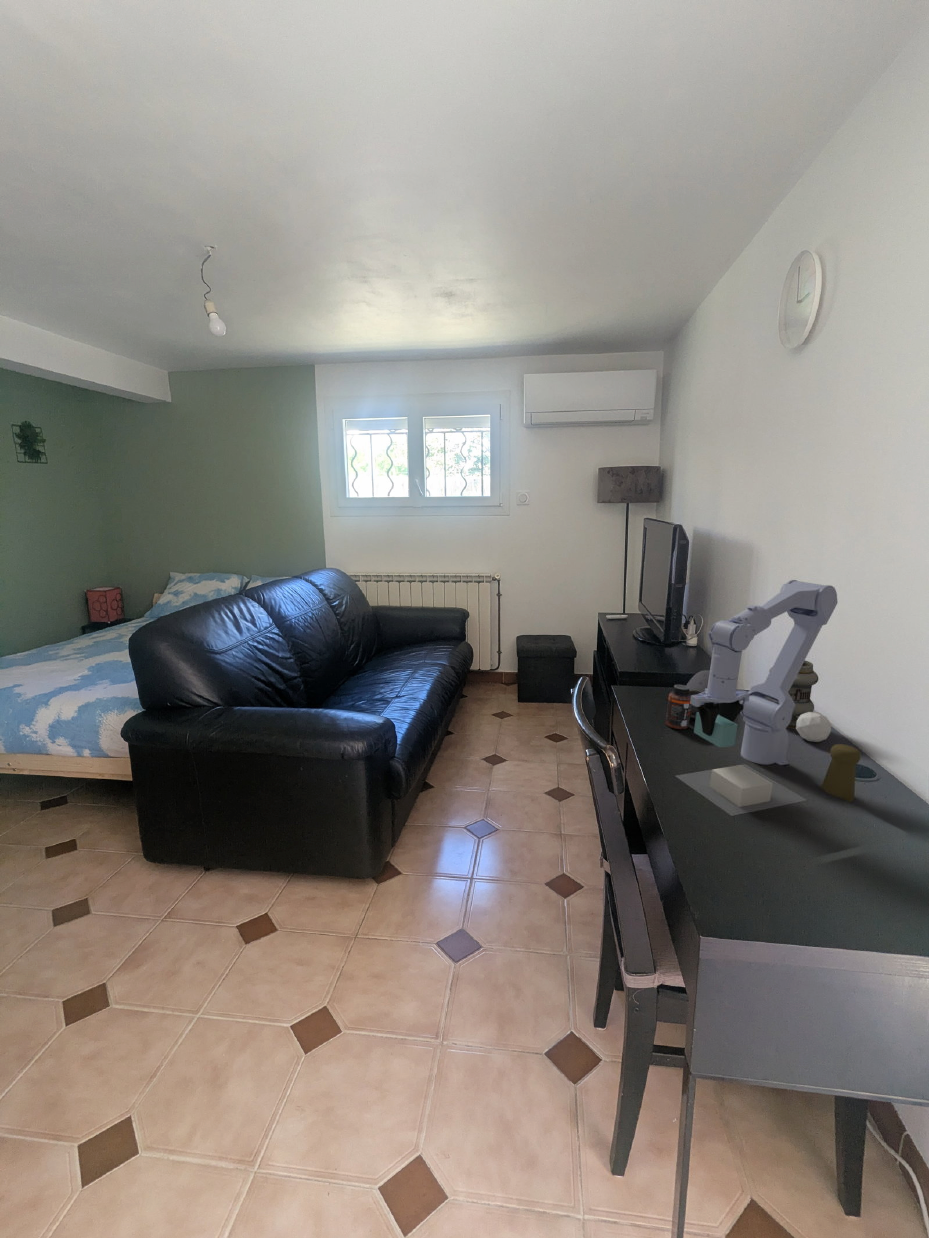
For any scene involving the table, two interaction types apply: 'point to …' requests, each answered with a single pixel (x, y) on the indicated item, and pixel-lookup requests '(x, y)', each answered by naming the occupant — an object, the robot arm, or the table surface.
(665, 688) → the table surface
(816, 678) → the apothecary jar
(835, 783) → the cork
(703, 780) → the baseplate
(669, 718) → the supplement bottle
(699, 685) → the bluetooth speaker
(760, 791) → the base brick
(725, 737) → the top brick
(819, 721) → the geometric ball
